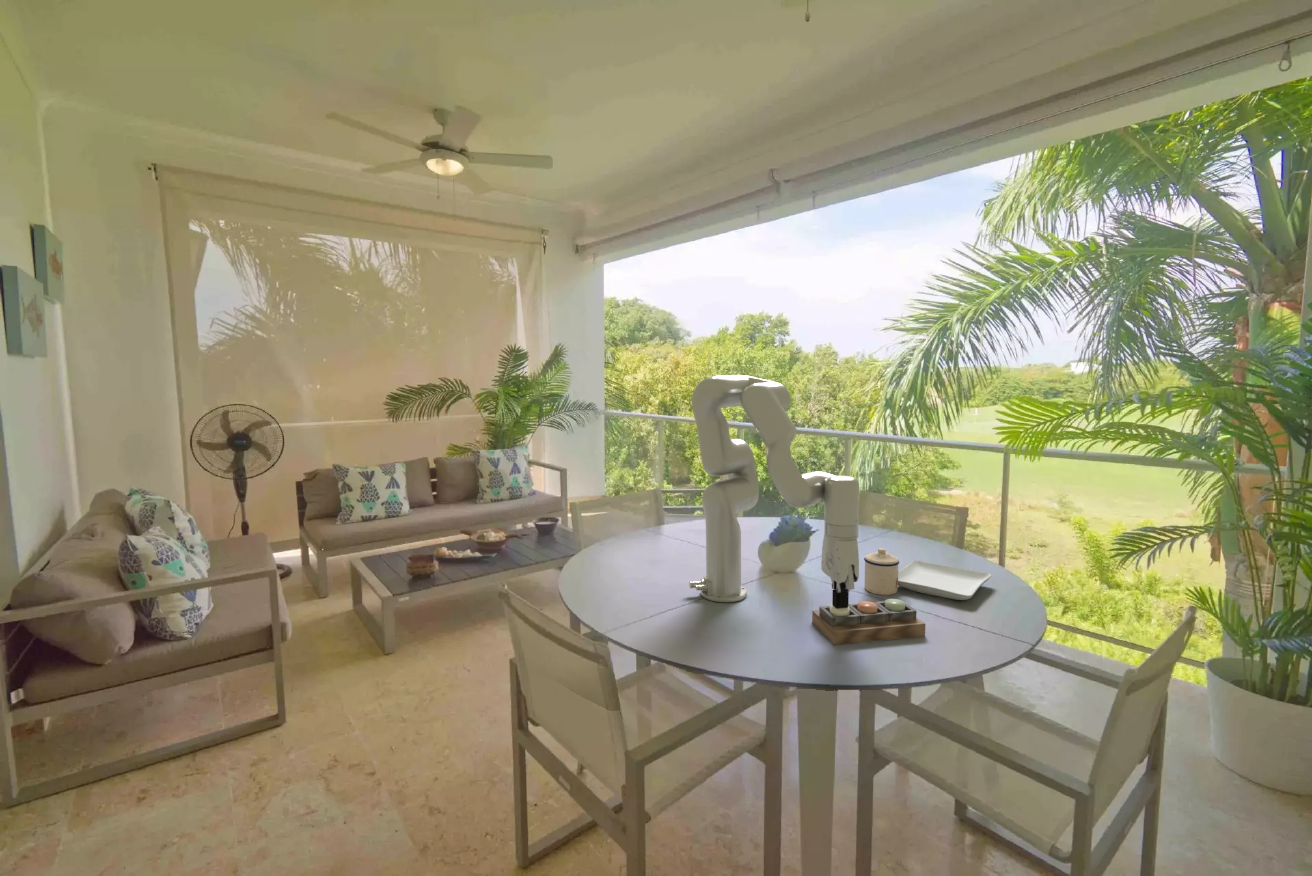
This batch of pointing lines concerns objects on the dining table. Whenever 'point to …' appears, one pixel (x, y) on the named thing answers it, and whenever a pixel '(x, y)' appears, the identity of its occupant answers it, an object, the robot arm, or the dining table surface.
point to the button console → (868, 624)
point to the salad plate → (941, 580)
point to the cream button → (839, 611)
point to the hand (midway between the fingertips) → (840, 606)
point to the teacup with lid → (881, 573)
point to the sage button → (894, 605)
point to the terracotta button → (867, 607)
